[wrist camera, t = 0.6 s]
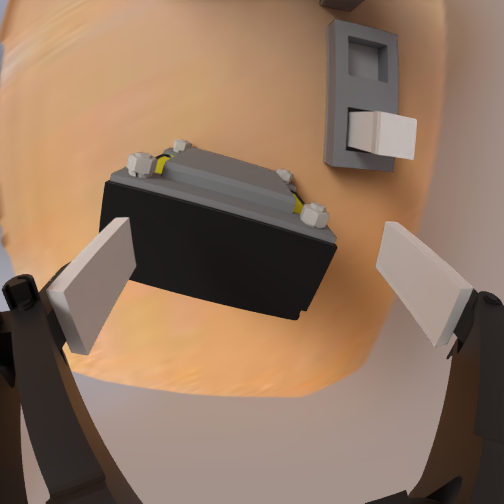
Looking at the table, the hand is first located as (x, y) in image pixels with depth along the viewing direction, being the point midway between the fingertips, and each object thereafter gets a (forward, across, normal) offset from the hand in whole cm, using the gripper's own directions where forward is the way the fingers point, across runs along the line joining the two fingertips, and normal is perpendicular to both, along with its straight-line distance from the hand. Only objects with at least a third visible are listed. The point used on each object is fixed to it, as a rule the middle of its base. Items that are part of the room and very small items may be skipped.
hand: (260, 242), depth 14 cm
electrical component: (+26, -3, -4) cm, 27 cm away
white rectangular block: (+25, +15, +6) cm, 30 cm away
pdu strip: (+26, +15, +11) cm, 32 cm away
